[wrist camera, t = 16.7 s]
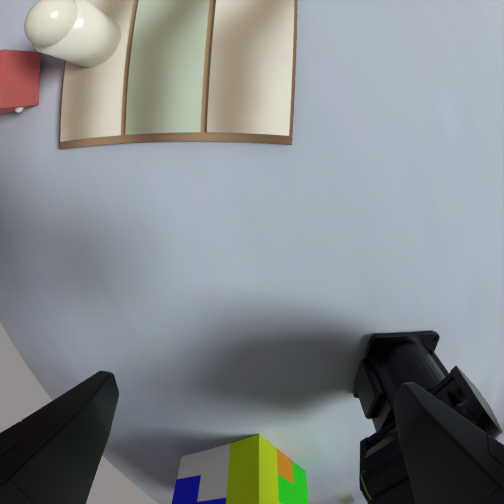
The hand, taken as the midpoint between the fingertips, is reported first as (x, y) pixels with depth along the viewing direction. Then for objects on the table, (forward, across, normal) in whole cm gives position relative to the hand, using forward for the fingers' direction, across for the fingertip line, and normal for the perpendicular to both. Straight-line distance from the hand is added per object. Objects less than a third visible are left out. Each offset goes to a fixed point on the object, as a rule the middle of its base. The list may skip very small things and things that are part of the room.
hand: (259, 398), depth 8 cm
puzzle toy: (+12, 0, +25) cm, 28 cm away
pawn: (+11, +11, -14) cm, 21 cm away
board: (+12, +6, -14) cm, 19 cm away
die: (+10, +16, -12) cm, 22 cm away
